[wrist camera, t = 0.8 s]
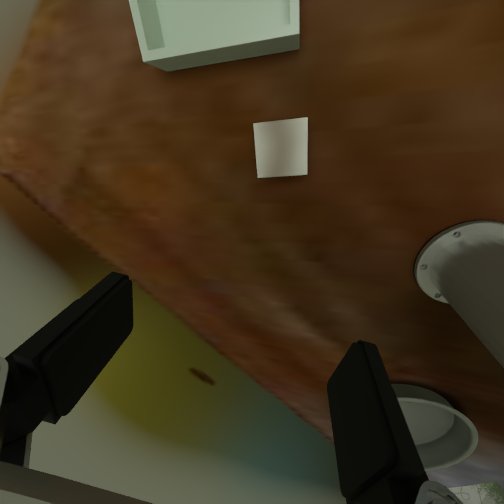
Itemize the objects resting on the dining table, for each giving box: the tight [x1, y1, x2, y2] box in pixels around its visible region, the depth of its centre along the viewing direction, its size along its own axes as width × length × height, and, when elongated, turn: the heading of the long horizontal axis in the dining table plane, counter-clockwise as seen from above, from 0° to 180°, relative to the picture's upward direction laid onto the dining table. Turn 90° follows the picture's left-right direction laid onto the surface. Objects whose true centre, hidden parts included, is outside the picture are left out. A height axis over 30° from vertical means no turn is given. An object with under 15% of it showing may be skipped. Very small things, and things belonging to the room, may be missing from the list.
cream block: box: [253, 117, 308, 178], centre depth 27 cm, size 5×5×8 cm
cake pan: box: [391, 384, 478, 471], centre depth 48 cm, size 25×25×4 cm
